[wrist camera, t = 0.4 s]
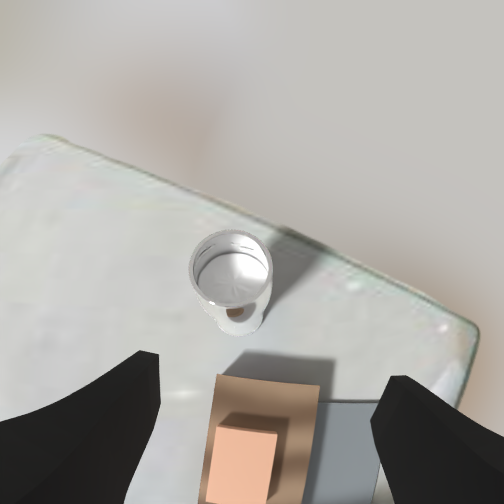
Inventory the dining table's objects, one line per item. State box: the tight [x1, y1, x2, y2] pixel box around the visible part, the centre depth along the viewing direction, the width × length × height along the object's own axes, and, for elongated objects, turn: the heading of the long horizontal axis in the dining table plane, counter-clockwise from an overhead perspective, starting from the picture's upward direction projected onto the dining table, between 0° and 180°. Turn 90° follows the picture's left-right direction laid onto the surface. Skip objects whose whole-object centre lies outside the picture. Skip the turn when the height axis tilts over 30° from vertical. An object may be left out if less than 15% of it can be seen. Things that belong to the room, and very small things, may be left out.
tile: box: [205, 424, 278, 504], centre depth 24 cm, size 9×6×2 cm, turn 172°
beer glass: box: [189, 230, 273, 337], centre depth 30 cm, size 7×7×15 cm
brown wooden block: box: [198, 374, 320, 504], centre depth 27 cm, size 20×11×4 cm, turn 172°
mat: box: [301, 402, 380, 504], centre depth 28 cm, size 16×10×1 cm, turn 172°
